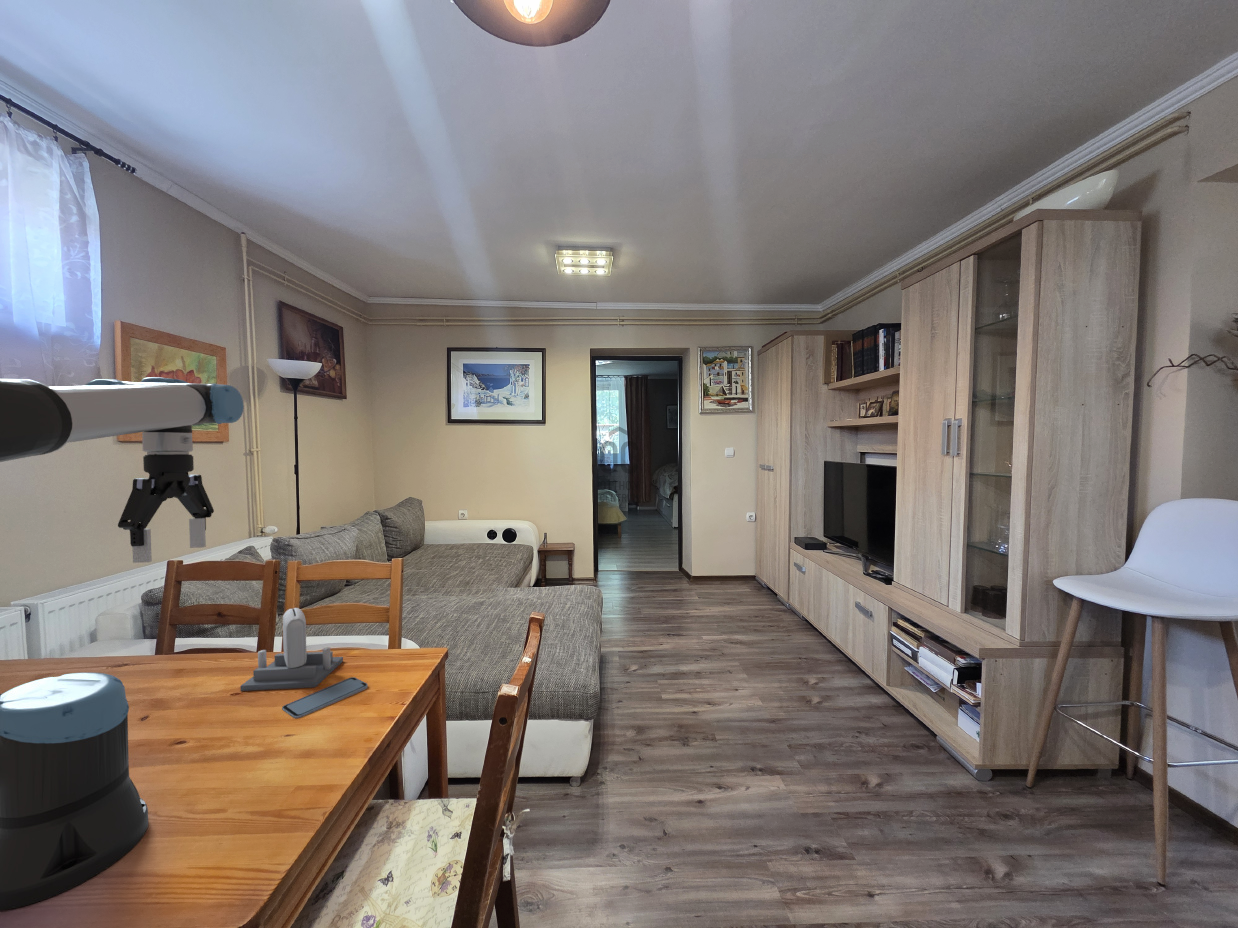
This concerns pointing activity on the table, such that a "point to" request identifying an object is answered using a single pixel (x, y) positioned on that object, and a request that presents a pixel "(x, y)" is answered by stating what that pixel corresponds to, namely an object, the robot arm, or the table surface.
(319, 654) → the cradle
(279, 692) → the table surface
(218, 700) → the table surface
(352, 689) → the smartphone
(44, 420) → the robot arm
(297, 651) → the photo printer
